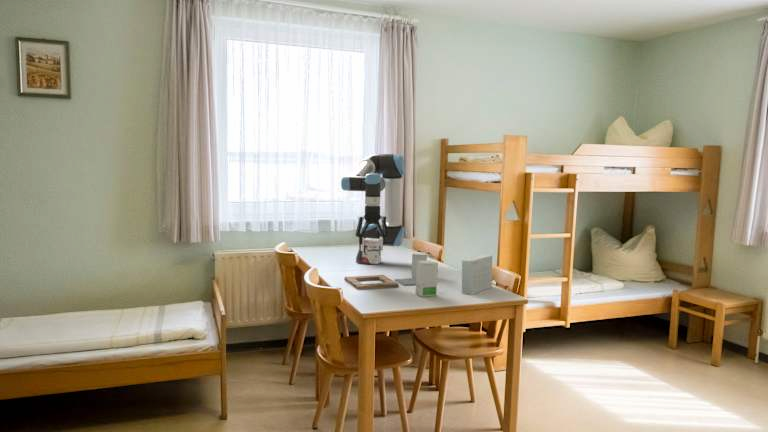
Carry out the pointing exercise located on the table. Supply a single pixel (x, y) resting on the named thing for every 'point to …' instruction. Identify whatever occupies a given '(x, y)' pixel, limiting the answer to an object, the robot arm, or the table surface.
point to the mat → (407, 281)
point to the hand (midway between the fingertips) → (371, 250)
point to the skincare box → (426, 278)
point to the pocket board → (386, 283)
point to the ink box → (371, 251)
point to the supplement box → (416, 257)
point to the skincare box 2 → (476, 274)
